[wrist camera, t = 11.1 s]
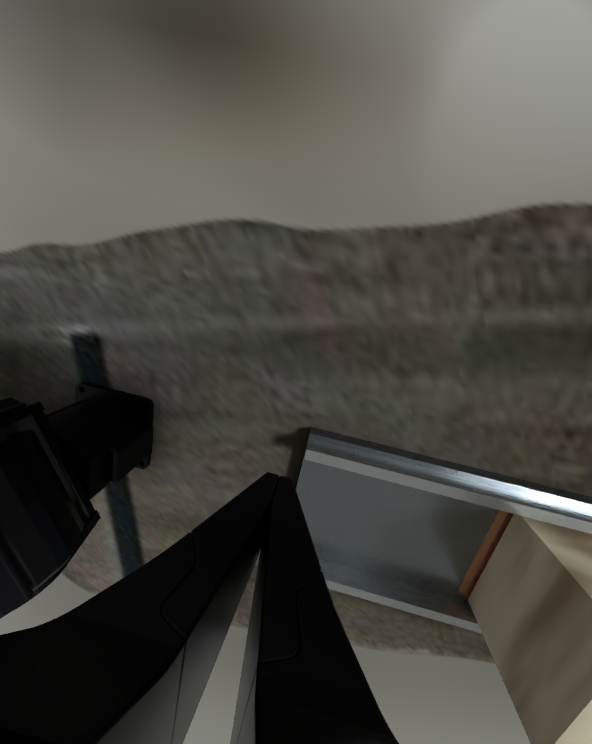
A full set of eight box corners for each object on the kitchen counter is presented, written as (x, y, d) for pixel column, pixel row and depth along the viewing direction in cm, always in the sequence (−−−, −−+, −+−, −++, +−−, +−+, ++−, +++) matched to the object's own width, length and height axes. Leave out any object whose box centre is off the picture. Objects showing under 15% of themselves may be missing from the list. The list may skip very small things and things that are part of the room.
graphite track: (280, 548, 25) (271, 594, 21) (310, 427, 21) (305, 455, 17) (621, 646, 23) (680, 717, 19) (717, 529, 19) (813, 587, 15)
